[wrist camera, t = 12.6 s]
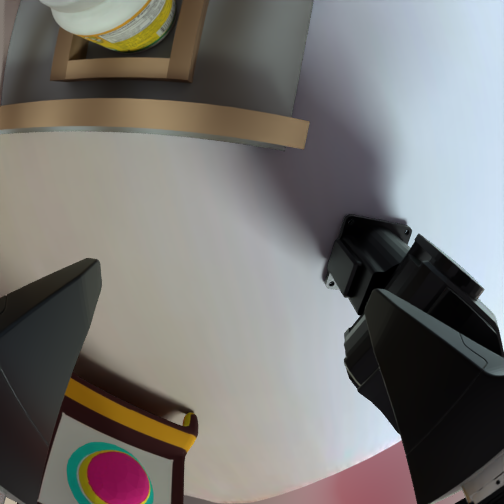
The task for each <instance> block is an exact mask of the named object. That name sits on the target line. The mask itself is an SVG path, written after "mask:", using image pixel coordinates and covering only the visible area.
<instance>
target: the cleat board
mask: <svg viewBox="0 0 504 504" xmlns="http://www.w3.org/2000/svg"><path fill="white" fill-rule="evenodd" d="M313 1H314V0H175V2H176V5H177V17H176V21H175V23H174V25H173V27H172V29H171V31H170V32H169V33H168V35H167V36H166V37H165V38H164V39H163V40H162V41H161V42H159V43H158V44H157V45H155V46H154V47H152V48H150V49H148V50H145V51H143V52H139V53H134V54H124V53H120V52H116V51H113V50H110V49H108V48H105V47H103V46H101V45H99V44H97V43H94V42H92V41H89V40H87V39H84V38H82V37H80V36H77V35H75V34H73V33H70V32H68V31H66V30H64V29H63V28H62V27H60V26H59V25H58V23H57V22H56V21H55V19H54V17H53V15H52V11H51V8H50V7H48V6H46V5H45V4H43V3H41V2H40V1H39V0H21V2H20V5H19V9H18V12H17V16H16V19H15V23H14V27H13V31H12V36H11V40H10V45H9V50H8V55H7V61H6V67H5V73H4V81H3V89H2V98H1V106H0V134H10V133H26V132H53V131H98V132H126V133H144V134H158V135H170V136H181V137H191V138H200V139H208V140H216V141H224V142H231V143H238V144H245V145H251V146H258V147H264V148H270V149H275V150H281V151H285V147H286V146H288V147H294V148H299V149H304V147H305V142H306V137H307V133H308V128H309V123H310V122H309V121H305V120H300V119H295V118H291V117H292V112H293V106H294V101H295V96H296V91H297V86H298V81H299V76H300V70H301V65H302V60H303V55H304V49H305V44H306V39H307V33H308V28H309V23H310V17H311V12H312V6H313Z"/></svg>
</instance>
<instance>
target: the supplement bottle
mask: <svg viewBox="0 0 504 504" xmlns="http://www.w3.org/2000/svg"><path fill="white" fill-rule="evenodd" d="M39 1H40V2H41V3H43V4H45V5H46V6H48V7H50V8H51V11H52V15H53V17H54V19H55V21H56V22H57V23H58V25H59V26H60V27H62V28H63V29H64V30H66V31H68V32H70V33H73V34H75V35H77V36H80V37H82V38H84V39H87V40H89V41H92V42H94V43H97V44H99V45H101V46H103V47H105V48H108V49H110V50H113V51H116V52H120V53H124V54H134V53H139V52H143V51H145V50H148V49H150V48H152V47H154V46H155V45H157V44H158V43H159V42H161V41H162V40H163V39H164V38H165V37H166V36H167V35H168V33H169V32H170V31H171V29H172V27H173V25H174V23H175V21H176V17H177V5H176V2H175V0H39Z"/></svg>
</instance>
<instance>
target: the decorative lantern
mask: <svg viewBox="0 0 504 504" xmlns="http://www.w3.org/2000/svg"><path fill="white" fill-rule="evenodd" d="M197 435H198V420H197V416H196V415H195V414H194V413H187V414H186V415H185V417H184V420H183V426H180V425H178V424H175V423H173V422H170V421H168V420H165V419H163V418H161V417H158V416H156V415H154V414H151V413H149V412H147V411H144V410H142V409H140V408H138V407H136V406H134V405H131V404H129V403H127V402H125V401H123V400H121V399H119V398H117V397H115V396H113V395H111V394H109V393H107V392H105V391H103V390H102V389H100V388H98V387H96V386H94V385H92V384H91V383H89V382H87V381H85V380H83V379H82V378H80V377H78V376H77V375H76V374H75V373H74V372H72V375H71V378H70V380H69V383H68V386H67V389H66V392H65V395H64V398H63V401H62V404H61V407H60V410H59V414H58V417H57V420H56V424H55V427H54V431H53V434H52V438H51V441H50V445H49V446H48V447H49V450H48V454H47V458H46V462H45V466H44V470H43V475H42V480H41V484H40V490H39V495H38V500H37V504H183V496H184V461H185V456H186V454H187V452H188V450H189V449H190V448H191V446H192V445H193V443H194V442H195V440H196V438H197ZM17 504H19V503H17Z"/></svg>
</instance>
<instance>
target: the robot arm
mask: <svg viewBox="0 0 504 504" xmlns="http://www.w3.org/2000/svg"><path fill="white" fill-rule="evenodd" d="M350 219H352V222H351V223H348V221H349V220H350ZM406 230H407V232H406V233H405V231H406ZM411 233H412V229H411V228H410V227H409V226H407V225H403V224H398V223H393V222H389V221H384V220H379V219H373V218H368V217H363V216H358V215H352V214H349V215H346V216H345V218H344V220H343V224H342V227H341V231H340V234H339V237H338V239H337V240H336V241H335V243H334V247H333V250H332V253H331V256H330V260H329V263H328V266H327V269H328V273H327V276H326V279H325V285H326V287H327V288H328V289H337V290H340V291H341V293H342V294H343V296H344V297H345V298H349V300H350V302H351V304H352V305H353V307H354V309H355V310H356V312H357V314H358V315H361V316H360V317H359V318H358V320H357V321H356V322H355V323H354V324H353V326H352V327H351V328H348V330H347V331H346V332H345V333H344V337H345V342H344V346H345V353H346V357H345V359H344V364H345V366H346V369H347V373H348V376H349V379H350V380H351V381H352V383H353V384H354V385H355V386H356V388H357V390H358V392H359V393H360V394H361V395H363V396H364V397H366V398H367V399H368V400H370V401H371V402H372V403H373V404H374V405H375V406H376V407H377V408H378V409H379V410H380V411H381V412H382V413H383V414H384V415H385V417H386V418H387V419H388V421H389V422H390V423H391V425H392V426H393V427H394V429H395V430H396V431H397V432H398V433H399V434H400V435H401V439H402V443H403V446H404V450H405V454H406V458H407V462H408V466H409V470H410V474H411V478H412V482H413V487H414V491H415V495H416V501H417V504H434V503H436V502H438V501H440V500H443V499H444V498H447V497H449V496H451V495H453V494H455V493H457V492H459V491H461V490H462V491H463V493H464V495H465V498H464V499H462V500H460V501H459V502H457V503H455V504H504V351H503V346H502V341H501V337H500V333H499V328H498V325H497V321H496V317H495V315H494V314H493V313H492V312H491V311H490V310H489V309H488V308H487V307H486V306H485V305H484V304H483V303H482V302H481V301H480V300H479V299H478V298H479V296H480V295H481V294H482V292H483V291H484V288H483V287H482V286H481V285H480V284H479V283H478V282H477V281H476V280H475V279H474V278H473V277H472V276H471V275H470V274H469V273H468V272H466V271H465V270H464V269H463V268H462V267H461V266H460V265H458V264H457V263H456V262H455V261H454V260H452V259H451V258H450V257H449V256H447V255H446V254H445V253H444V252H442V251H441V250H440V249H439V248H437V247H436V246H435V245H434V244H432V243H431V242H430V241H428V240H427V239H426V238H424V237H423V236H422V235H420V234H418V235H417V237H416V238H415V242H414V244H413V245H412V247H411V248H410V247H409V246H408V245H407V244H408V242H409V239H410V236H411ZM331 281H333V283H331V284H329V283H330V282H331ZM101 287H102V279H101V268H100V262H99V260H98V259H92V258H86V259H83V260H81V261H79V262H77V263H74V264H72V265H70V266H67V267H65V268H63V269H61V270H58V271H56V272H54V273H52V274H50V275H47V276H45V277H43V278H41V279H39V280H37V281H34V282H32V283H30V284H28V285H26V286H24V287H22V288H20V289H18V290H16V291H13V292H11V293H9V294H7V296H3V297H1V298H0V504H4V502H5V498H6V497H7V498H9V499H11V500H13V501H15V502H17V503H19V504H37V500H38V495H39V490H40V484H41V480H42V475H43V470H44V466H45V462H46V458H47V454H48V450H49V447H48V446H49V445H50V441H51V438H52V434H53V431H54V427H55V424H56V420H57V417H58V414H59V410H60V407H61V404H62V401H63V398H64V395H65V392H66V389H67V386H68V383H69V380H70V378H71V375H72V372H73V369H74V366H75V364H76V361H77V358H78V356H79V353H80V351H81V348H82V346H83V343H84V341H85V338H86V336H87V333H88V330H89V328H90V325H91V321H92V318H93V314H94V311H95V308H96V304H97V301H98V298H99V295H100V292H101Z"/></svg>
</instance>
